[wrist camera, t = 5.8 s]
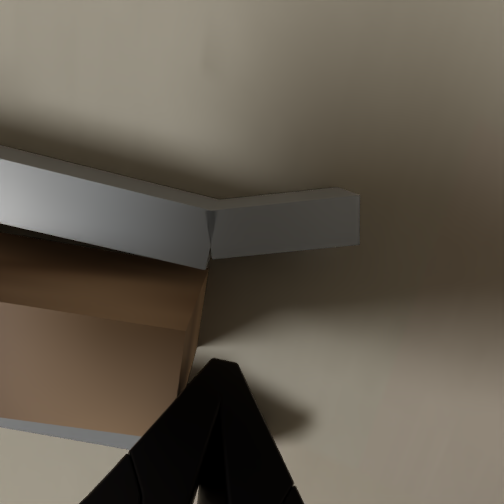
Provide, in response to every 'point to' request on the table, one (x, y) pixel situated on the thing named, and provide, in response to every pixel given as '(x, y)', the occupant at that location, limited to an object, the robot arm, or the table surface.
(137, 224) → the guide
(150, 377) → the batten
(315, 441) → the table surface
